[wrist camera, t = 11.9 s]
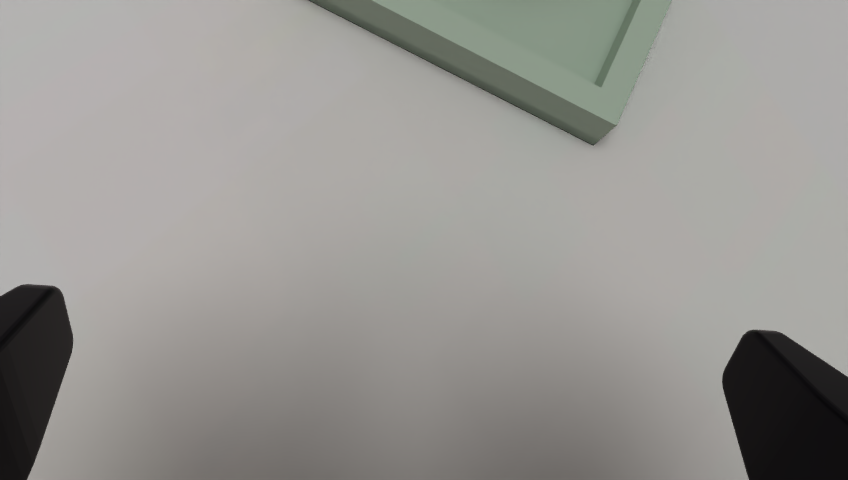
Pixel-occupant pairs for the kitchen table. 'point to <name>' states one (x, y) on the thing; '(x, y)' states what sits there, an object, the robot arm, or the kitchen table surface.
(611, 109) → the tray
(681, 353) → the kitchen table surface
